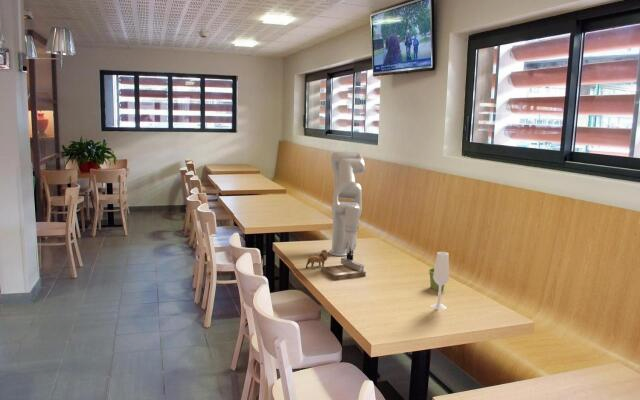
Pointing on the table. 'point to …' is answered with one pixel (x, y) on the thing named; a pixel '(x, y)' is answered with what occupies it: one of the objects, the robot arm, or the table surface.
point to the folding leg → (352, 264)
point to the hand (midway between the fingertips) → (349, 261)
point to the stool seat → (342, 272)
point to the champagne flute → (441, 276)
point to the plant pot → (432, 282)
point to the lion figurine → (318, 259)
